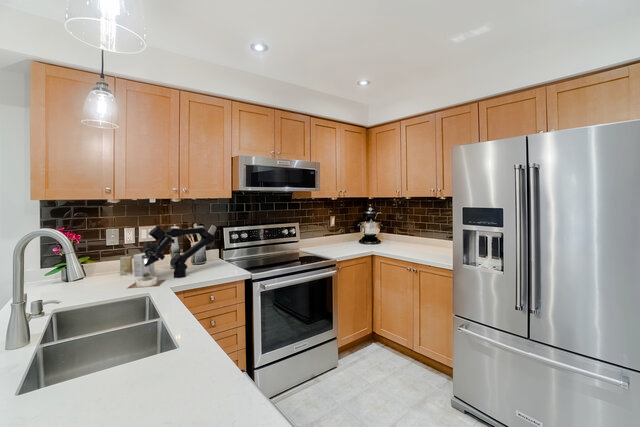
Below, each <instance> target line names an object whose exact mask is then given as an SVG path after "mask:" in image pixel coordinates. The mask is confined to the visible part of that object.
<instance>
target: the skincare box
mask: <svg viewBox="0 0 640 427" xmlns="http://www.w3.org/2000/svg"><path fill="white" fill-rule="evenodd" d="M119 266H120V267H119V269H120V270H119V273H120V274H119V275H120V276H129V275H128V274H131V273H132V274H133V256H121V257H119ZM132 274H131V275H132Z"/></svg>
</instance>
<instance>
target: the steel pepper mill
mask: <svg viewBox="0 0 640 427" xmlns="http://www.w3.org/2000/svg"><path fill="white" fill-rule="evenodd" d="M149 258H150V256H149V255H142V258H141V265H142V277H141V278H144V277H152V276H151V265H148V266H144V265H145V264H146V262H147V261H148V259H149Z"/></svg>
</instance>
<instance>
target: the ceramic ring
mask: <svg viewBox="0 0 640 427" xmlns="http://www.w3.org/2000/svg"><path fill="white" fill-rule="evenodd" d="M158 280H159V279H158V276H148V277H140V278H139V277H138V278H137V279H135V281H134V283H135V282H136V286H138V287H142V288H145V287H144V286H151V285H154V284H157V283H158Z"/></svg>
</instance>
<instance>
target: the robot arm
mask: <svg viewBox="0 0 640 427" xmlns="http://www.w3.org/2000/svg"><path fill="white" fill-rule="evenodd" d="M196 234H197V235H199V236H200V237H201V238H200V240H199V241H198V242H196V243H195V244H194V245H192V246H191V247H190V248H189V249H187V250H186V251H184V252H183V253H181V254H180V253H176V254H175V256H171V259H170V265H171V267H172V268H173V269H174V270H173V278H174V279H183V278H186V277H187V268H188V265H187V264H186V263H187V260H189V258H191V257H192V256H193V255H194V254H196V253H197V252H199V250H201V249H202V248H204V247H206V246H208V245H210V244H212V243H214V242H215V240H216V236H215V235H214V234H211V233H210V232H209V231H207V229H205V228H204V227H194V228H173V227H170V228H168V229H167V230H163V229H162V228H161V227H160V226H158V225H156V226H154V227H153V229H151V230H149V232H148V235H149V236H151V238H153V239H154V240H155V241H157V242H153V241H150V242H148V241H144V242H143V244H142V247H143V248H144V249H143V250H142V252H143V253H145V255H149V256H150V258H149V259H148V261H147V262H146V264H145V265H144V266H148V265H150V264H152V263H154V264H155V263H156V262H158V261H160V260H161V261H163V260H164V259H165V258H166V256H165V254H164V253H163V252H164V251H166V250H167V247H168V246H169V245H170V244H175V238H178V237H181V236H185V235H196Z"/></svg>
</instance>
